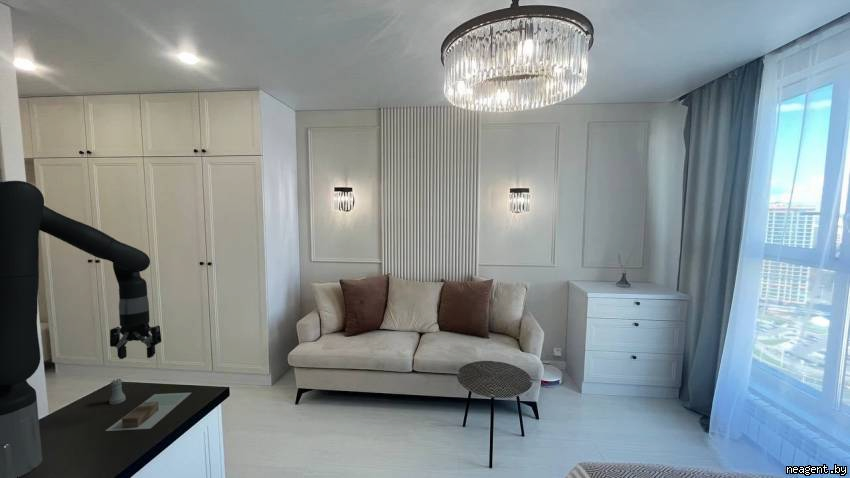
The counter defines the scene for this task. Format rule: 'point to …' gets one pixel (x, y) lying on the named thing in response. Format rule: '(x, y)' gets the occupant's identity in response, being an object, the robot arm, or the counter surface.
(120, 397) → the rook chess piece
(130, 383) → the counter surface
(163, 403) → the grey mat
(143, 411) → the brown rectangular block
